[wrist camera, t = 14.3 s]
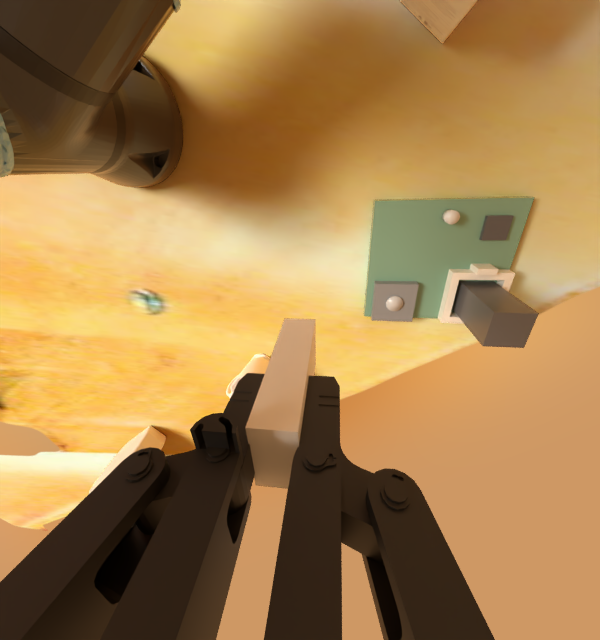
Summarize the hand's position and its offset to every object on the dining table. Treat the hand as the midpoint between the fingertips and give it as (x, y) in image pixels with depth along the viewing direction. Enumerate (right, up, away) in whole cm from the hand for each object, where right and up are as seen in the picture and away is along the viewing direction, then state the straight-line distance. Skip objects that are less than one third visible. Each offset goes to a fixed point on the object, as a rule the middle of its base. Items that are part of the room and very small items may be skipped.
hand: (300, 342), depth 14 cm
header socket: (+25, +5, +26) cm, 37 cm away
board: (+20, +10, +26) cm, 34 cm away
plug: (+25, +5, +26) cm, 37 cm away
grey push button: (+16, +5, +29) cm, 33 cm away
